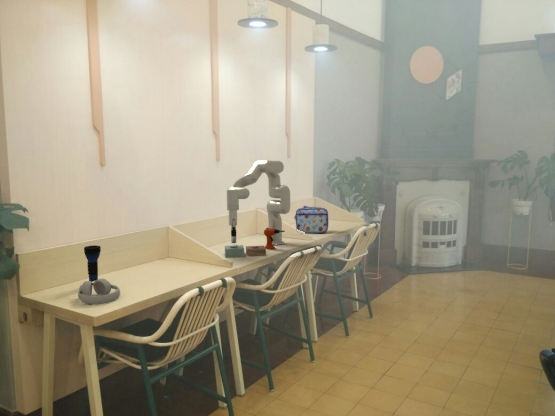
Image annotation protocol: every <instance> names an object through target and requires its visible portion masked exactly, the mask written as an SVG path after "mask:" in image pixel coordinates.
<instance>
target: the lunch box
mask: <svg viewBox="0 0 555 416" xmlns="http://www.w3.org/2000/svg"><path fill="white" fill-rule="evenodd" d="M293 219H294V220H295V227H296V230H297V229H298V230H300V231H303V232H305V233H315V234H324V233H326V232H328V230H329V229H328V228H329V211H328V209H327V208H325V207H318V206H306V205H303V207H300V208H298V209H296V211H295V214H294V217H293Z"/></svg>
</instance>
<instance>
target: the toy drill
mask: <svg viewBox="0 0 555 416" xmlns="http://www.w3.org/2000/svg"><path fill="white" fill-rule="evenodd" d="M280 232H282V233H285V232H286V230H282V231H280V230H277V229H273V228H272V229H271V228H269V227H266V228H265V229H264V231H263V234H264V236H265V238H266V244H265V245H264V247H265V248H266V250H269V251H270V250H272V251H273V250H276V247H275V245H272V241H273V238H272V235H275V234H277V233H280Z"/></svg>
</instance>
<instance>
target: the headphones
mask: <svg viewBox="0 0 555 416" xmlns="http://www.w3.org/2000/svg"><path fill="white" fill-rule="evenodd" d="M92 283H94V284H93V285H92ZM78 289H79V290H78V292H77V297H78V298H79V300H80V302H82V303H83V304H85V305H102V304H106V303H110V302H113V301H115V300H116V301H117V299H119V298H120V296H121V289H120V287H118V286H117V285H113V284H111V282H109V281H108V280H107V279H106V278H98V280H96V281H93V282H91V281H88V280H85V281H83V282H82V284H80V285H79V287H78ZM112 290H115V291H112ZM93 291H94V292H95V293H96V294H97V295H92V293H93Z"/></svg>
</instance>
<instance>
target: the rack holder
mask: <svg viewBox="0 0 555 416" xmlns="http://www.w3.org/2000/svg"><path fill="white" fill-rule="evenodd" d="M224 257H225V258H229V257H230V258H231V257H233V258H235V257H236V258H237V257H245V248H244V244H238V245H237V244H235V245H234V244H233V245H224Z"/></svg>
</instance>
